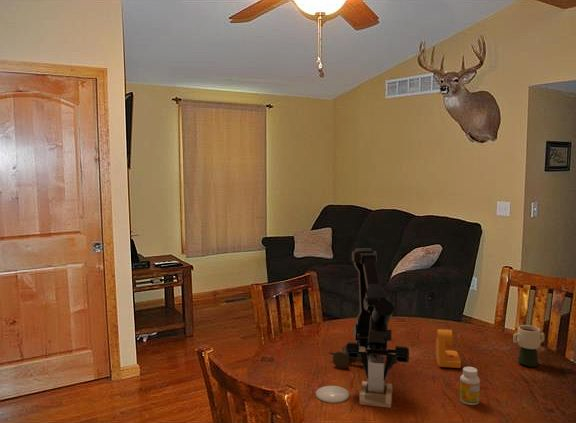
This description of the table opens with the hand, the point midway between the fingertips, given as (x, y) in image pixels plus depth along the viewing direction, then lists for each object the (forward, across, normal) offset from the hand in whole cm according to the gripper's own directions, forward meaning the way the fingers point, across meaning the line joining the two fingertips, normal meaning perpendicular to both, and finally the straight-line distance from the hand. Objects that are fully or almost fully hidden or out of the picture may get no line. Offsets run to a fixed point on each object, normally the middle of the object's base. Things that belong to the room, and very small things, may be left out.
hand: (375, 379), depth 141 cm
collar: (+4, 0, +6) cm, 7 cm away
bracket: (-19, +23, +29) cm, 41 cm away
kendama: (-13, -9, +23) cm, 27 cm away
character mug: (-22, +50, +32) cm, 63 cm away
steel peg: (+4, 0, +6) cm, 7 cm away
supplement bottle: (0, +27, +9) cm, 28 cm away
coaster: (+4, -13, +5) cm, 15 cm away
